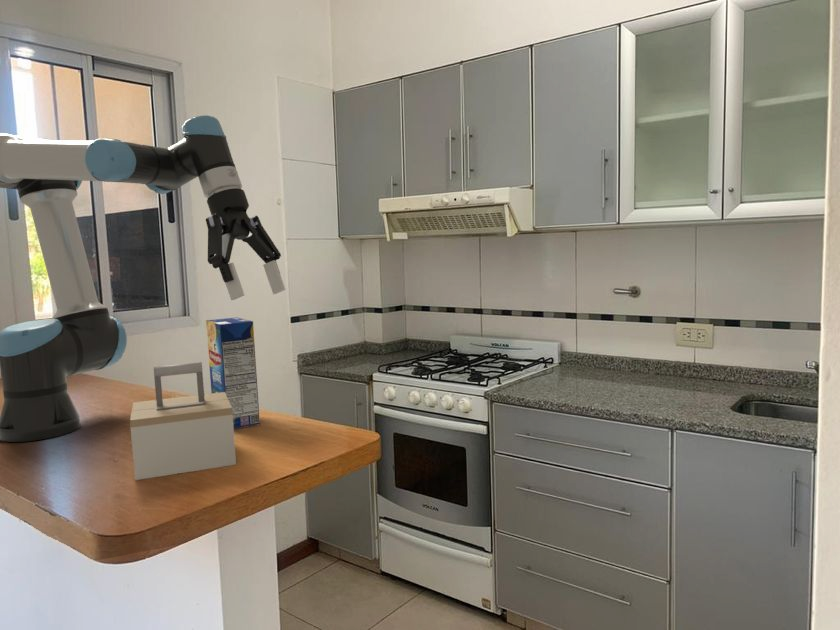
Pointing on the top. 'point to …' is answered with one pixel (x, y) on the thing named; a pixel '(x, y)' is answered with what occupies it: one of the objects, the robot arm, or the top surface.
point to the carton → (182, 438)
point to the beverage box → (234, 367)
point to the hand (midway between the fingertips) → (259, 295)
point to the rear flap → (161, 402)
